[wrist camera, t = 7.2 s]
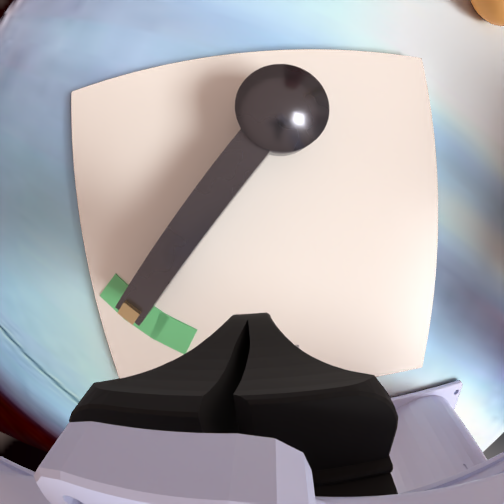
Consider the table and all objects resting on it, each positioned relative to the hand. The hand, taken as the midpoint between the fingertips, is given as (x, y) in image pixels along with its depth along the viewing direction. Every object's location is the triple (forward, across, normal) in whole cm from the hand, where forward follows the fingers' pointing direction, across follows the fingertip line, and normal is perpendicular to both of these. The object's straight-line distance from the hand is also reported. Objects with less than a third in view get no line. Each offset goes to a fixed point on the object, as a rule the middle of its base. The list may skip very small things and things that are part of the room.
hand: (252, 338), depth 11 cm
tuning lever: (+6, +2, -5) cm, 8 cm away
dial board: (+7, 0, -3) cm, 8 cm away
